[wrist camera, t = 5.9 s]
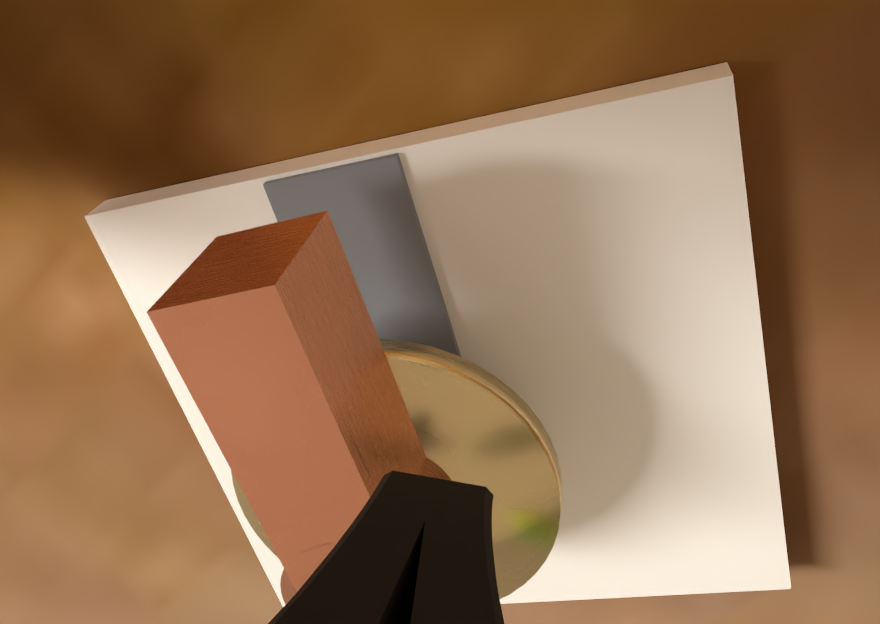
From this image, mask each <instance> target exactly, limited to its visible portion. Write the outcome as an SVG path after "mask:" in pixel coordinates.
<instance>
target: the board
mask: <svg viewBox="0 0 880 624" xmlns="http://www.w3.org/2000/svg"><path fill="white" fill-rule="evenodd" d="M327 210H328V212H329V215H330V217H331V220H332V222H333V225H334V227H335V230H336V232H337V235H338V237H339V240H340V242H341V245H342V247H343V250H344V252H345V255H346V257H347V260H348V262H349V265H350V267H351V270H352V272H353V275H354V277H355V280H356V282H357V285H358V287H359V290H360V292H361V295H362V297H363V300H364V302H365V305H366V307H367V310H368V312H369V315H370V317H371V320H372V322H373V325H374V327H375V330H376V332H377V335H378V337H379V339H394V340H402V341H410V342H415V343H419V344H423V345H428V346H432V347H435V348H438V349H441V350H444V351H447V352H450V353H453V354H455V355H457V356H459V357H462V358H464V359H466V360H468V361H470V362H472V363H474V364H476V365H478V366H480V367H481V368H483V369H485V370H486V371H488V372H489V373H491V374H493V375H494V376H496V377H497V378H498V379H500V380H501V381H502V382H503V383H505V384H506V385H507V386H509V387H510V388H511V389H512V390H514V391H515V392H516V393H517V394H518V395H519V396H520V397H521V398H522V399H523V400H524V401H525V402H526V403H527V404H528V405H529V407H530V408H531V409H532V411H533V412H534V413H535V414H536V416H537V417H538V418H539V420H540V421H541V423H542V424H543V426H544V428H545V429H546V431H547V433H548V435H549V436H550V438H551V441H552V443H553V446H554V448H555V451H556V453H557V456H558V460H559V465H560V469H561V477H562V498H561V511H560V521H559V529H558V533H557V536H556V540H555V543H554V546H553V548H552V550H551V552H550V554H549V556H548V558H547V559H546V561H545V562H544V564H543V565H542V566H541V568H540V569H539V570H538V571H537V573H536V574H535V575H534V576H533V577H532V578H531V579H530V580H528V581H527V582H526V583H525V584H524V585H523V586H521V587H520V588H518V589H517V590H516V591H514V592H513V593H511V594H510V595H508V596H506V597H504V598H502V599H500V604H505V603H525V602H544V601H564V600H583V599H603V598H622V597H642V596H661V595H681V594H701V593H720V592H740V591H759V590H779V589H791V583H790V574H789V565H788V556H787V548H786V539H785V530H784V521H783V512H782V503H781V494H780V486H779V477H778V468H777V459H776V450H775V441H774V433H773V424H772V415H771V406H770V397H769V388H768V379H767V371H766V362H765V353H764V344H763V335H762V326H761V318H760V309H759V300H758V291H757V282H756V273H755V265H754V256H753V247H752V238H751V229H750V220H749V211H748V203H747V194H746V185H745V176H744V167H743V158H742V150H741V141H740V132H739V123H738V114H737V105H736V96H735V88H734V79H733V74H732V72H731V70H730V67H729V65H728V63H727V62H725V63H721V64H716V65H712V66H707V67H703V68H698V69H694V70H689V71H685V72H680V73H676V74H671V75H667V76H662V77H658V78H653V79H649V80H644V81H640V82H635V83H631V84H626V85H622V86H617V87H613V88H608V89H604V90H599V91H595V92H590V93H586V94H581V95H577V96H572V97H568V98H563V99H559V100H554V101H550V102H545V103H541V104H536V105H532V106H527V107H523V108H518V109H514V110H509V111H505V112H500V113H496V114H491V115H486V116H482V117H477V118H473V119H468V120H464V121H459V122H455V123H450V124H446V125H441V126H437V127H432V128H428V129H423V130H419V131H414V132H410V133H405V134H401V135H396V136H392V137H387V138H383V139H378V140H374V141H369V142H365V143H360V144H356V145H351V146H347V147H342V148H338V149H333V150H329V151H324V152H320V153H315V154H311V155H306V156H302V157H297V158H293V159H288V160H284V161H279V162H275V163H270V164H266V165H261V166H257V167H252V168H248V169H243V170H239V171H234V172H230V173H225V174H221V175H216V176H212V177H207V178H203V179H198V180H194V181H189V182H185V183H180V184H176V185H171V186H167V187H162V188H158V189H153V190H149V191H144V192H140V193H135V194H131V195H126V196H122V197H117V198H113V199H108V200H105V201H104V202H102V203H101V204H100V205H98V206H97V207H96V208H95V209H93V210H92V211H91V212H89V213H88V214H87V215H85V216H84V217H85V219H86V221H87V222H88V224H89V226H90V228H91V230H92V232H93V234H94V236H95V238H96V240H97V242H98V244H99V246H100V248H101V250H102V252H103V254H104V256H105V258H106V260H107V262H108V264H109V266H110V268H111V270H112V272H113V274H114V276H115V278H116V280H117V281H118V283H119V285H120V287H121V289H122V291H123V293H124V295H125V297H126V299H127V301H128V303H129V305H130V307H131V309H132V311H133V313H134V315H135V317H136V319H137V321H138V323H139V325H140V327H141V329H142V331H143V333H144V335H145V337H146V339H147V340H148V342H149V344H150V346H151V348H152V350H153V352H154V354H155V356H156V358H157V360H158V362H159V364H160V366H161V368H162V370H163V372H164V374H165V376H166V378H167V380H168V382H169V384H170V386H171V388H172V390H173V392H174V394H175V396H176V397H177V399H178V401H179V403H180V405H181V407H182V409H183V411H184V413H185V415H186V417H187V419H188V421H189V423H190V425H191V427H192V429H193V431H194V433H195V435H196V437H197V439H198V441H199V443H200V445H201V447H202V449H203V451H204V453H205V455H206V456H207V458H208V460H209V462H210V464H211V466H212V468H213V470H214V472H215V474H216V476H217V478H218V480H219V482H220V484H221V486H222V488H223V490H224V492H225V494H226V496H227V498H228V500H229V502H230V504H231V506H232V508H233V510H234V512H235V514H236V515H237V517H238V519H239V521H240V523H241V525H242V527H243V529H244V531H245V533H246V535H247V537H248V539H249V541H250V543H251V545H252V547H253V549H254V551H255V553H256V555H257V557H258V559H259V561H260V563H261V565H262V567H263V569H264V571H265V573H266V574H267V576H268V578H269V580H270V582H271V584H272V586H273V588H274V590H275V592H276V594H277V596H278V598H279V600H280V602H281V604H282V606H283V607H284V606H285V603H284V600H283V597H282V594H281V587H280V582H281V576H282V572H283V570H284V567H283V565H282V563H281V562H280V560H279V558H278V557H277V556H276V555H275V554H274V553H273V552H272V551H271V550H270V549H269V548H268V547H267V546H266V545H265V544H264V543H263V542H262V540H261V539H260V538H259V537H258V535H257V534H256V533H255V532H254V530H253V528H252V527H251V525H250V524H249V522H248V520H247V519H246V517H245V515H244V513H243V511H242V509H241V507H240V504H239V502H238V500H237V496H236V493H235V490H234V486H233V481H232V474H231V468H230V467H229V465H228V463H227V461H226V459H225V457H224V455H223V454H222V452H221V450H220V448H219V446H218V444H217V442H216V441H215V439H214V437H213V435H212V433H211V431H210V429H209V427H208V426H207V424H206V422H205V420H204V418H203V416H202V414H201V413H200V411H199V409H198V407H197V405H196V403H195V401H194V400H193V398H192V396H191V394H190V392H189V390H188V388H187V387H186V385H185V383H184V381H183V379H182V377H181V375H180V373H179V372H178V370H177V368H176V366H175V364H174V362H173V360H172V359H171V357H170V355H169V353H168V351H167V349H166V347H165V346H164V344H163V342H162V340H161V338H160V336H159V334H158V333H157V331H156V329H155V327H154V325H153V323H152V321H151V319H150V318H149V316H148V314H147V311H148V310H149V309H150V308H151V307H152V306H153V305H154V303H155V302H156V301H157V300H158V299H159V298H160V297H161V296H162V295H163V294H164V293H165V292H166V291H167V289H168V288H169V287H170V286H171V285H172V284H173V283H174V282H175V281H176V280H177V279H178V278H179V277H180V275H181V274H182V273H183V272H184V271H185V270H186V269H187V268H188V267H189V266H190V265H191V264H192V263H193V262H194V260H195V259H196V258H197V257H198V256H199V255H200V254H201V253H202V252H203V251H204V250H205V249H206V248H207V246H208V245H209V244H210V243H211V242H212V241H213V240H214V239H215V238H216V237H217V236H221V235H226V234H230V233H234V232H238V231H243V230H247V229H251V228H255V227H260V226H264V225H268V224H272V223H276V222H281V221H285V220H289V219H293V218H298V217H302V216H306V215H310V214H314V213H319V212H323V211H327Z"/></svg>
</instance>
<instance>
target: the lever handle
mask: <svg viewBox="0 0 880 624" xmlns="http://www.w3.org/2000/svg"><path fill="white" fill-rule="evenodd" d="M147 314H148V316H149V318H150V319H151V321H152V323H153V325H154V327H155V329H156V331H157V333H158V334H159V336H160V338H161V340H162V342H163V344H164V346H165V347H166V349H167V351H168V353H169V355H170V357H171V359H172V360H173V362H174V364H175V366H176V368H177V370H178V372H179V373H180V375H181V377H182V379H183V381H184V383H185V385H186V387H187V388H188V390H189V392H190V394H191V396H192V398H193V400H194V401H195V403H196V405H197V407H198V409H199V411H200V413H201V414H202V416H203V418H204V420H205V422H206V424H207V426H208V427H209V429H210V431H211V433H212V435H213V437H214V439H215V441H216V442H217V444H218V446H219V448H220V450H221V452H222V454H223V455H224V457H225V459H226V461H227V463H228V465H229V467H230V468H231V474H232V481H233V486H234V490H235V493H236V496H237V500H238V502H239V504H240V507H241V509H242V511H243V513H244V515H245V517H246V519H247V520H248V522H249V524H250V525H251V527H252V528H253V530H254V532H255V533H256V534H257V535H258V537H259V538H260V539H261V540H262V542H263V543H264V544H265V545H266V546H267V547H268V548H269V549H270V550H271V551H272V552H273V553H274V554H275V555H276V556H277V557H278V558H279V560H280V562H281V563H282V565H283V567H284V570H283V572H282V576H281V582H280V587H281V594H282V597H283V600H284V603H285V605H286V604H287V603H288V602H289V601H290V600H291V598H292V597H293V596H294V595H295V594H296V593H297V592H298V590H299V589H300V588H301V587H302V586H303V584H304V583H305V582H306V581H307V580H308V578H309V577H310V576H311V575H312V573H313V572H314V571H315V570H316V569H317V567H318V566H319V565H320V564H321V562H322V561H323V560H324V559H325V558H326V556H327V555H328V554H329V553H330V552H331V550H332V549H333V548H334V547H335V545H336V544H337V543H338V541H339V540H340V539H341V537H342V536H343V535H344V533H345V532H346V531H347V529H348V528H349V527H350V525H351V524H352V523H353V521H354V520H355V518H356V517H357V516H358V514H359V513H360V511H361V510H362V509H363V507H364V506H365V504H366V503H367V501H368V500H369V498H370V497H371V495H372V494H373V492H374V491H375V489H376V487H377V486H378V484H379V482H380V481H381V479H382V477H383V476H384V475H385V474H387V473H389V472H391V471H392V470H393V471H399V472H405V473H410V474H416V475H422V476H427V477H433V478H439V479H445V480H450V481H456V482H462V483H467V484H473V485H479V486H485V487H487V488H488V489H489V491H490V492H491V493H492V494H493V495H494V496H493V504H492V541H493V554H494V563H495V572H496V580H497V587H498V593H499V599H502V598H504V597H506V596H508V595H510V594H511V593H513V592H514V591H516V590H517V589H518V588H520V587H521V586H523V585H524V584H525V583H526V582H527V581H528V580H530V579H531V578H532V577H533V576H534V575H535V574H536V573H537V571H538V570H539V569H540V568H541V566H542V565H543V564H544V562H545V561H546V559H547V558H548V556H549V554H550V552H551V550H552V548H553V546H554V543H555V540H556V536H557V533H558V529H559V521H560V511H561V498H562V477H561V469H560V465H559V460H558V456H557V453H556V451H555V448H554V446H553V443H552V441H551V438H550V436H549V435H548V433H547V431H546V429H545V428H544V426H543V424H542V423H541V421H540V420H539V418H538V417H537V416H536V414H535V413H534V412H533V411H532V409H531V408H530V407H529V405H528V404H527V403H526V402H525V401H524V400H523V399H522V398H521V397H520V396H519V395H518V394H517V393H516V392H515V391H514V390H512V389H511V388H510V387H509V386H507V385H506V384H505V383H503V382H502V381H501V380H500V379H498V378H497V377H496V376H494V375H493V374H491V373H489V372H488V371H486V370H485V369H483V368H481V367H480V366H478V365H476V364H474V363H472V362H470V361H468V360H466V359H464V358H462V357H459V356H457V355H455V354H453V353H450V352H447V351H444V350H441V349H438V348H435V347H432V346H428V345H423V344H419V343H415V342H410V341H402V340H394V339H379V337H378V335H377V332H376V330H375V327H374V325H373V322H372V320H371V317H370V315H369V312H368V310H367V307H366V305H365V302H364V300H363V297H362V295H361V292H360V290H359V287H358V285H357V282H356V280H355V277H354V275H353V272H352V270H351V267H350V265H349V262H348V260H347V257H346V255H345V252H344V250H343V247H342V245H341V242H340V240H339V237H338V235H337V232H336V230H335V227H334V225H333V222H332V220H331V217H330V215H329V212H328V210H327V211H323V212H319V213H314V214H310V215H306V216H302V217H298V218H293V219H289V220H285V221H281V222H276V223H272V224H268V225H264V226H260V227H255V228H251V229H247V230H243V231H238V232H234V233H230V234H226V235H221V236H217V237H216V238H215V239H214V240H213V241H212V242H211V243H210V244H209V245H208V246H207V248H206V249H205V250H204V251H203V252H202V253H201V254H200V255H199V256H198V257H197V258H196V259H195V260H194V262H193V263H192V264H191V265H190V266H189V267H188V268H187V269H186V270H185V271H184V272H183V273H182V274H181V275H180V277H179V278H178V279H177V280H176V281H175V282H174V283H173V284H172V285H171V286H170V287H169V288H168V289H167V291H166V292H165V293H164V294H163V295H162V296H161V297H160V298H159V299H158V300H157V301H156V302H155V303H154V305H153V306H152V307H151V308H150V309H149V310H148V311H147Z"/></svg>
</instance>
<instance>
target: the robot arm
mask: <svg viewBox="0 0 880 624" xmlns="http://www.w3.org/2000/svg"><path fill="white" fill-rule="evenodd" d="M493 496H494V495H493V494H492V493H491V492H490V491H489V489H488V488H487V487H485V486H479V485H473V484H467V483H462V482H456V481H450V480H445V479H439V478H433V477H427V476H422V475H416V474H410V473H405V472H399V471H393V470H392V471H391V472H389V473H387V474H385V475H384V476H383V477H382V479H381V481H380V482H379V484H378V486H377V487H376V489H375V491H374V492H373V494H372V495H371V497H370V498H369V500H368V501H367V503H366V504H365V506H364V507H363V509H362V510H361V511H360V513H359V514H358V516H357V517H356V518H355V520H354V521H353V523H352V524H351V525H350V527H349V528H348V529H347V531H346V532H345V533H344V535H343V536H342V537H341V539H340V540H339V541H338V543H337V544H336V545H335V547H334V548H333V549H332V550H331V552H330V553H329V554H328V555H327V556H326V558H325V559H324V560H323V561H322V562H321V564H320V565H319V566H318V567H317V569H316V570H315V571H314V572H313V573H312V575H311V576H310V577H309V578H308V580H307V581H306V582H305V583H304V584H303V586H302V587H301V588H300V589H299V590H298V592H297V593H296V594H295V595H294V596H293V597H292V598H291V600H290V601H289V602H288V603H287V604H286V605H285V606H284V607H283V608H282V609H281V610H280V611H279V613H278V614H277V615H276V616H275V617H274V618H273V619H272V620H271V621H270V622H269V623H268V624H504V620H503V615H502V610H501V605H500V599H499V593H498V587H497V580H496V572H495V563H494V554H493V541H492V504H493Z"/></svg>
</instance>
